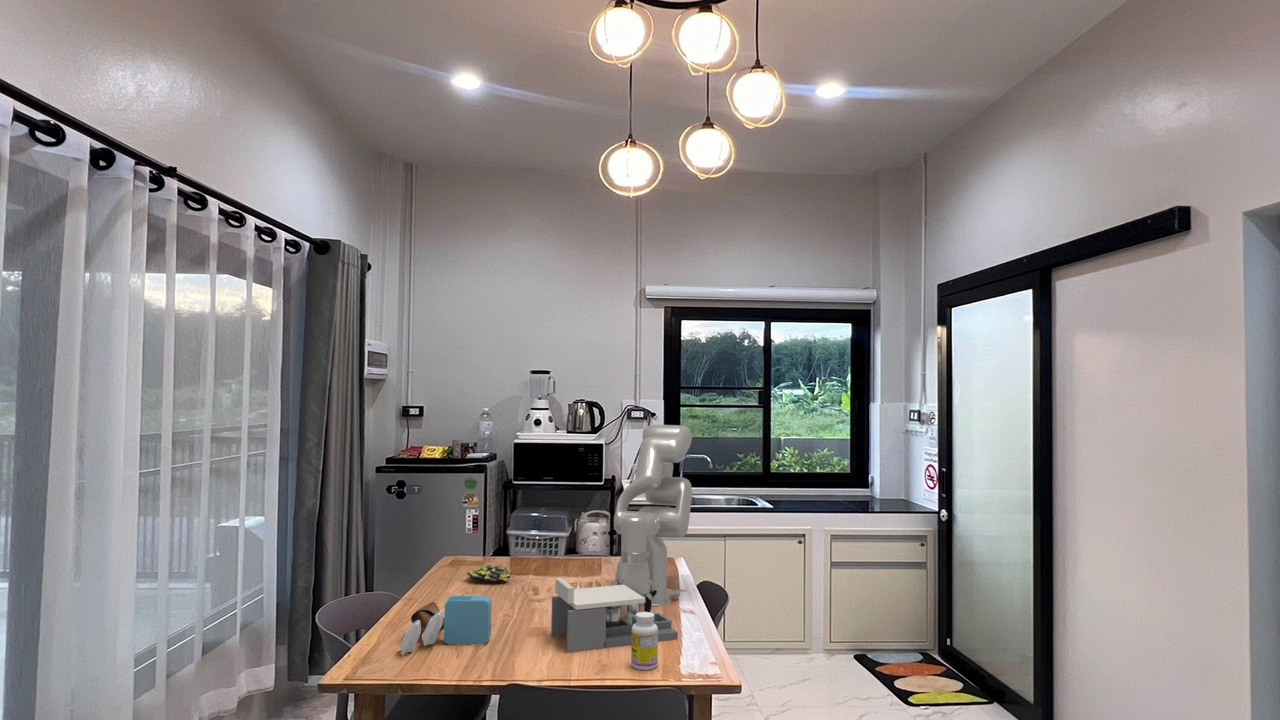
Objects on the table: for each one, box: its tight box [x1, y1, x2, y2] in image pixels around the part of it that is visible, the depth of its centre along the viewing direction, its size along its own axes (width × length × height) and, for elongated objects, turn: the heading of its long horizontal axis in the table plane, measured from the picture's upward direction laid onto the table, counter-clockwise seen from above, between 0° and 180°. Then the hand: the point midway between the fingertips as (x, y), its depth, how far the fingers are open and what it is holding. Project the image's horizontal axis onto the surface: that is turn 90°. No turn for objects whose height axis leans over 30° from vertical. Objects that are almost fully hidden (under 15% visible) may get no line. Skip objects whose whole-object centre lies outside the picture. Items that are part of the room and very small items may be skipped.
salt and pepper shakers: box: [399, 610, 444, 655], centre depth 196 cm, size 12×4×11 cm
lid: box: [554, 577, 645, 610], centre depth 208 cm, size 22×16×5 cm
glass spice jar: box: [606, 605, 622, 628], centre depth 209 cm, size 4×4×8 cm
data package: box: [443, 595, 493, 646], centre depth 203 cm, size 12×4×12 cm, turn 93°
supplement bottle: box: [630, 611, 659, 671], centre depth 187 cm, size 7×7×13 cm
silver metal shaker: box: [624, 603, 641, 620], centre depth 226 cm, size 4×4×8 cm
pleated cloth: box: [466, 564, 512, 583], centre depth 277 cm, size 20×16×7 cm
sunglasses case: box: [410, 601, 444, 632], centre depth 210 cm, size 18×7×7 cm, turn 4°
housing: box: [550, 595, 679, 654], centre depth 210 cm, size 32×16×11 cm, turn 113°
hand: (632, 614), depth 225 cm, fingers open, 9 cm apart
